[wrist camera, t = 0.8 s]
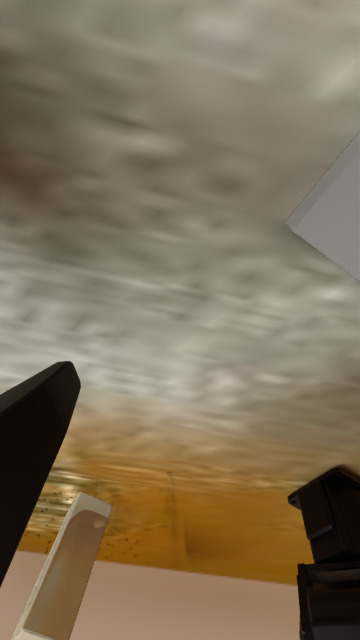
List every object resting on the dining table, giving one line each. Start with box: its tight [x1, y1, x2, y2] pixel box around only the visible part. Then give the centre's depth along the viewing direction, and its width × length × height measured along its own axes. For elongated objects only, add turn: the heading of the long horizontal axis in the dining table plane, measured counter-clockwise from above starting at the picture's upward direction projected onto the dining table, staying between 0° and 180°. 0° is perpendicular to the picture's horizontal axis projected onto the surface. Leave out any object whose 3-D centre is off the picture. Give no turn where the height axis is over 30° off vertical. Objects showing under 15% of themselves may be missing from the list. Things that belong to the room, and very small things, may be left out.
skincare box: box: [11, 492, 112, 640], centre depth 32 cm, size 6×4×12 cm
